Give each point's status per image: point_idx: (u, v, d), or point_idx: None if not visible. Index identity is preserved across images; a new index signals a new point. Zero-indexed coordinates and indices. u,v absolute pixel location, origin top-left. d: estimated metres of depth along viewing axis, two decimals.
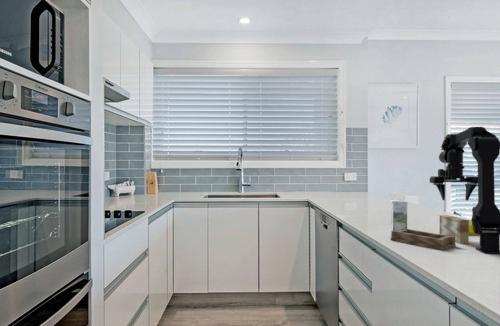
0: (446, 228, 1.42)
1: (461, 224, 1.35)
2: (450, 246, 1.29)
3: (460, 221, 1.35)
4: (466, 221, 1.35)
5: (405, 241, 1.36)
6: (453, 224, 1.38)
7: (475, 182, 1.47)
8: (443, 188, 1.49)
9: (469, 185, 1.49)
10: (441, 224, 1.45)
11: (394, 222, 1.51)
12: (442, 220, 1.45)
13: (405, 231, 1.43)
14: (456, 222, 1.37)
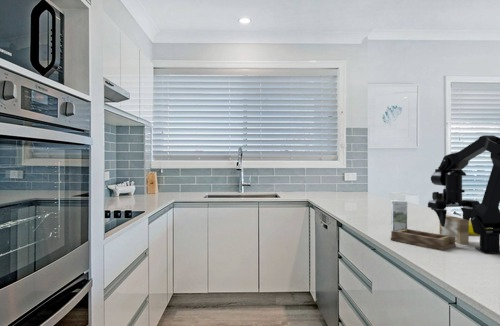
0: (446, 228, 1.42)
1: (460, 224, 1.35)
2: (450, 246, 1.29)
3: (460, 221, 1.35)
4: (466, 221, 1.35)
5: (405, 241, 1.36)
6: (453, 224, 1.38)
7: None
8: (444, 214, 1.38)
9: (468, 210, 1.40)
10: None
11: (394, 222, 1.51)
12: None
13: (405, 231, 1.43)
14: (455, 222, 1.37)
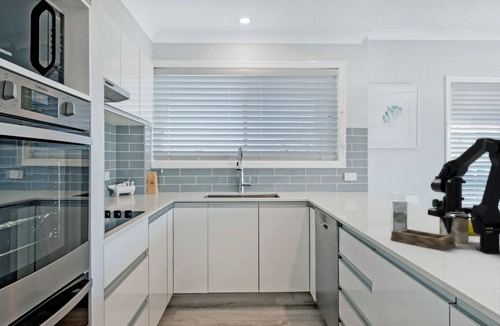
0: None
1: (460, 224, 1.35)
2: (450, 246, 1.29)
3: (460, 221, 1.35)
4: (466, 221, 1.35)
5: (405, 241, 1.36)
6: (453, 223, 1.38)
7: None
8: (450, 221, 1.38)
9: (461, 217, 1.40)
10: (441, 224, 1.46)
11: (394, 222, 1.51)
12: None
13: (405, 231, 1.43)
14: (455, 221, 1.37)
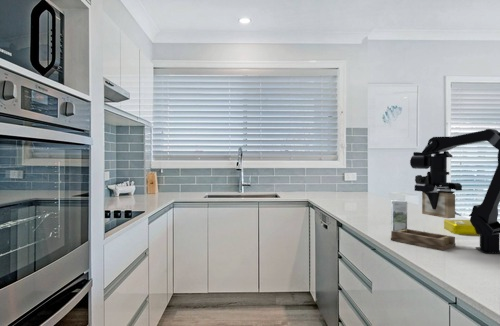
0: (430, 204, 1.40)
1: (448, 198, 1.33)
2: (450, 246, 1.29)
3: (448, 195, 1.33)
4: (453, 195, 1.33)
5: (405, 241, 1.36)
6: (440, 198, 1.36)
7: (457, 189, 1.38)
8: (437, 196, 1.35)
9: (445, 192, 1.38)
10: (424, 200, 1.43)
11: (394, 222, 1.51)
12: (425, 196, 1.42)
13: (405, 231, 1.43)
14: (443, 196, 1.34)
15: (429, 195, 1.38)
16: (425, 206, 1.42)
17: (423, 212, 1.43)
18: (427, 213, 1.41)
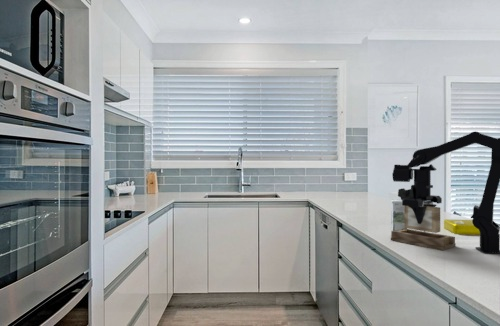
0: (415, 218, 1.36)
1: (436, 213, 1.30)
2: (450, 246, 1.29)
3: (435, 209, 1.30)
4: (439, 209, 1.32)
5: (405, 241, 1.36)
6: (426, 212, 1.33)
7: (438, 202, 1.37)
8: (424, 211, 1.32)
9: None
10: (407, 214, 1.39)
11: (394, 222, 1.51)
12: (409, 210, 1.38)
13: (405, 231, 1.43)
14: (429, 210, 1.32)
15: (415, 209, 1.34)
16: (408, 220, 1.38)
17: (406, 226, 1.39)
18: (411, 227, 1.38)
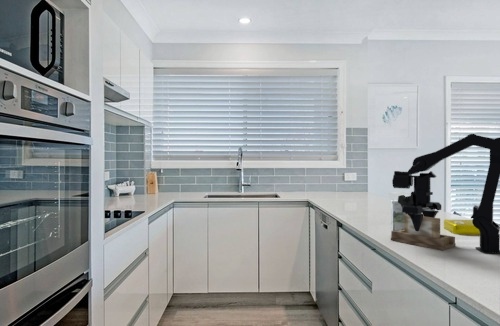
0: None
1: (436, 224, 1.30)
2: (450, 246, 1.29)
3: (435, 220, 1.30)
4: (439, 220, 1.32)
5: (405, 241, 1.36)
6: (426, 223, 1.33)
7: (438, 208, 1.37)
8: (422, 218, 1.31)
9: (431, 212, 1.37)
10: (407, 224, 1.39)
11: (394, 222, 1.51)
12: (409, 220, 1.38)
13: None
14: (429, 221, 1.32)
15: (412, 216, 1.34)
16: (408, 230, 1.39)
17: None
18: None
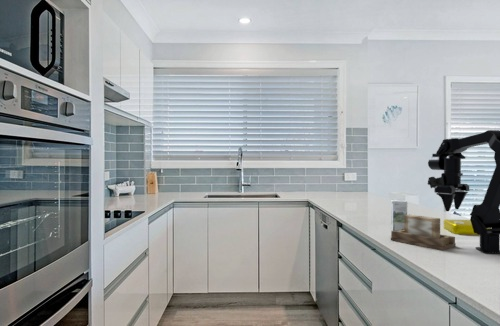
0: (415, 229, 1.36)
1: (436, 224, 1.30)
2: (450, 246, 1.29)
3: (435, 220, 1.30)
4: (439, 220, 1.32)
5: (405, 241, 1.36)
6: (426, 223, 1.33)
7: (467, 189, 1.42)
8: (453, 198, 1.34)
9: (461, 193, 1.42)
10: (407, 224, 1.39)
11: (394, 222, 1.51)
12: (409, 220, 1.38)
13: None
14: (429, 221, 1.32)
15: (443, 197, 1.37)
16: (408, 230, 1.39)
17: None
18: None
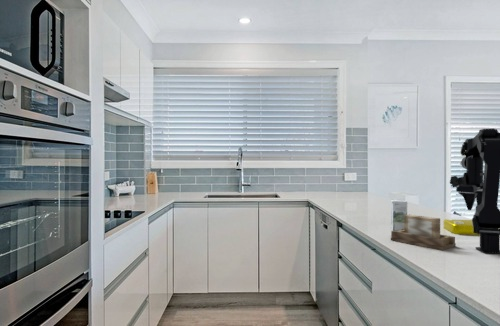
0: (415, 229, 1.36)
1: (436, 224, 1.30)
2: (450, 246, 1.29)
3: (435, 220, 1.30)
4: (439, 220, 1.32)
5: (405, 241, 1.36)
6: (426, 223, 1.33)
7: None
8: (475, 197, 1.37)
9: None
10: (407, 224, 1.39)
11: (394, 222, 1.51)
12: (409, 220, 1.38)
13: None
14: (429, 221, 1.32)
15: (465, 196, 1.39)
16: (408, 230, 1.39)
17: None
18: None
